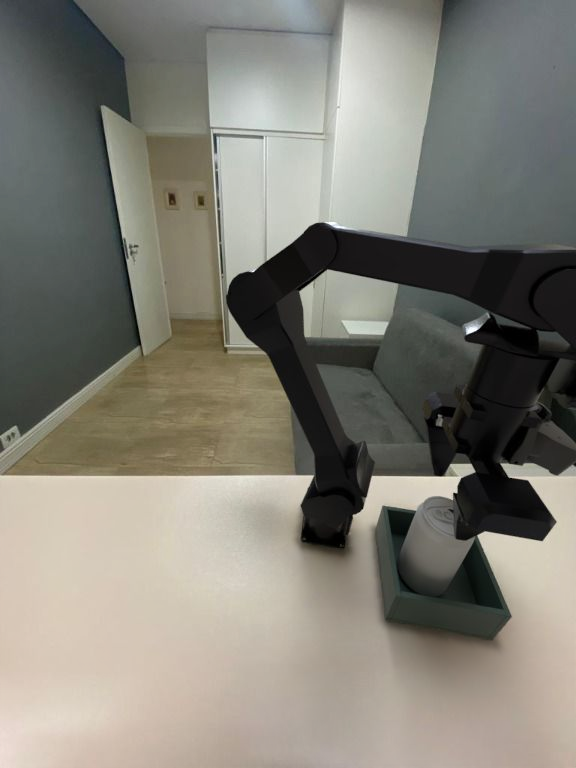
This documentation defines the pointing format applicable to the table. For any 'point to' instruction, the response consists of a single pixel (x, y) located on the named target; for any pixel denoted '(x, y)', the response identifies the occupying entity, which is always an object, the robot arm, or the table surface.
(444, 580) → the beverage can
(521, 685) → the table surface
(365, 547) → the table surface
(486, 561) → the shallow open box
